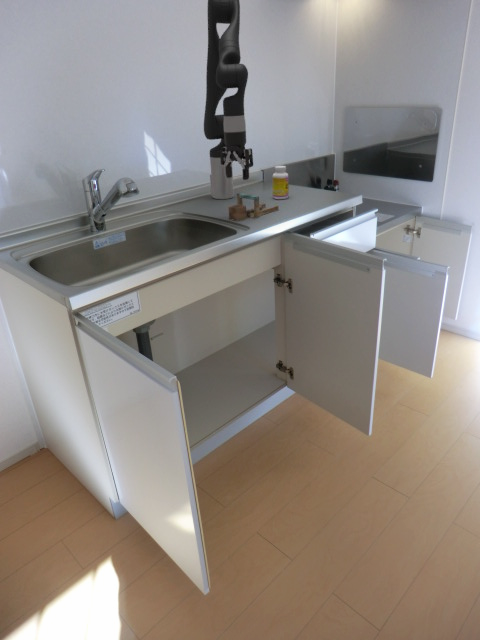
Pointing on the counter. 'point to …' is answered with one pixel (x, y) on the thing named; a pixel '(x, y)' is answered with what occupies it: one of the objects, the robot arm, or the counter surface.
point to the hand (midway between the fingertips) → (237, 178)
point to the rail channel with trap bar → (255, 205)
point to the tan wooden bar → (251, 210)
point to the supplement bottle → (280, 183)
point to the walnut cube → (237, 212)
